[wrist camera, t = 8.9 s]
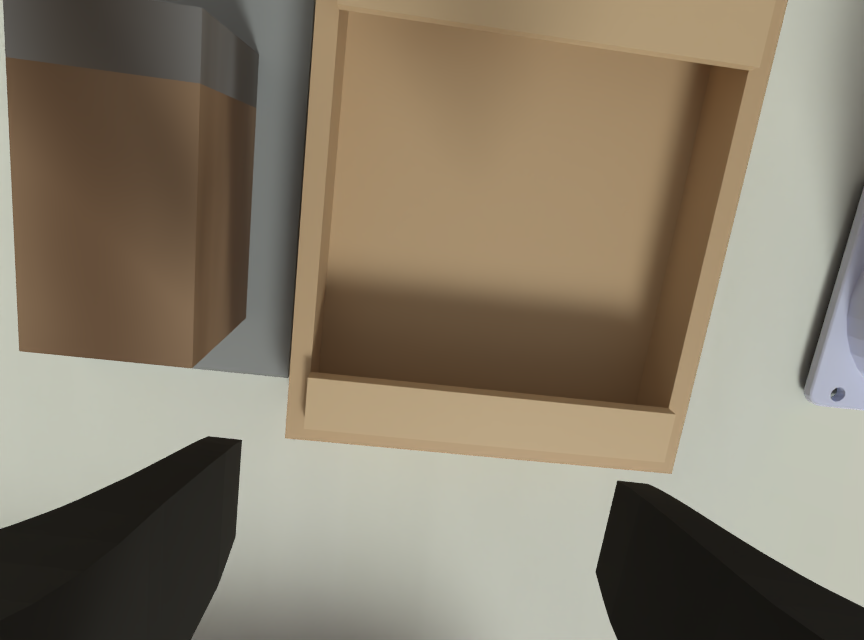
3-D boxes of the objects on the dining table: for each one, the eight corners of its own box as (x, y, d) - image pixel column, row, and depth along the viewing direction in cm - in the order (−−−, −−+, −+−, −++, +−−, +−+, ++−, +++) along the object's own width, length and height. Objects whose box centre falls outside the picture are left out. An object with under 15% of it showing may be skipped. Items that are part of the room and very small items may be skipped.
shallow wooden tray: (737, 10, 18) (804, -23, 15) (639, 437, 21) (678, 481, 18) (334, -53, 17) (319, -101, 14) (299, 405, 20) (281, 445, 17)
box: (259, 54, 17) (202, 7, 12) (246, 318, 19) (192, 368, 14) (117, 34, 17) (1, -22, 12) (118, 304, 19) (19, 350, 14)
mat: (317, -13, 17) (315, -17, 17) (290, 373, 20) (288, 377, 20) (68, -51, 17) (60, -56, 16) (77, 352, 19) (70, 355, 19)
